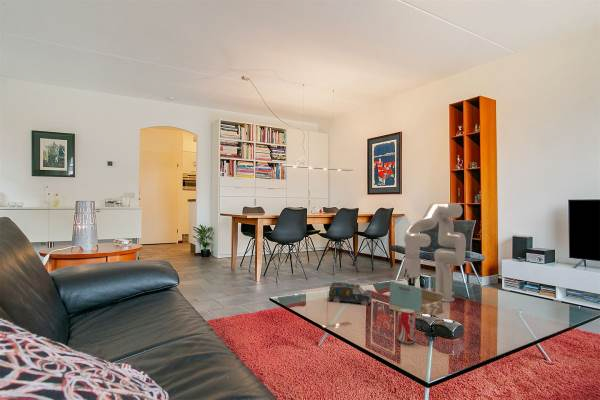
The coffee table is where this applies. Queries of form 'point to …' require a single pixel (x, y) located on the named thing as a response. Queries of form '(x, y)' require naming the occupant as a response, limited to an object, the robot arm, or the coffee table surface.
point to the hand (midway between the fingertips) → (411, 290)
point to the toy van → (349, 293)
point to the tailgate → (406, 296)
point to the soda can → (406, 325)
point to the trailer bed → (426, 303)
